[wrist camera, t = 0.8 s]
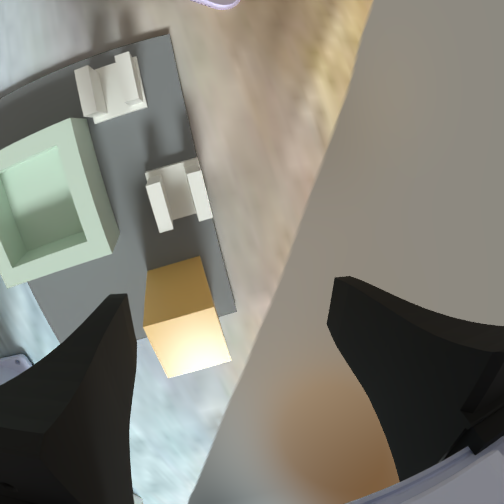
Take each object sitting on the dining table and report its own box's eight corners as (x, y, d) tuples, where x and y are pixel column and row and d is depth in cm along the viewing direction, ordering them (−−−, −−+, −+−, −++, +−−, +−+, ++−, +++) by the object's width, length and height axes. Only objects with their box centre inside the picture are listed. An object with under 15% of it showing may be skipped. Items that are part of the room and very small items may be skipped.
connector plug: (164, 315, 21) (168, 378, 15) (147, 271, 19) (142, 327, 14) (213, 301, 21) (231, 360, 16) (199, 255, 20) (213, 306, 14)
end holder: (26, 265, 17) (7, 288, 14) (-10, 162, 14) (-37, 171, 11) (120, 233, 18) (112, 253, 15) (86, 118, 15) (70, 117, 12)
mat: (70, 351, 20) (68, 356, 20) (-22, 114, 13) (-27, 114, 12) (235, 307, 22) (236, 311, 22) (169, 36, 15) (169, 33, 14)
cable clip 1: (96, 123, 15) (82, 123, 12) (86, 75, 14) (70, 66, 11) (147, 107, 16) (143, 103, 13) (137, 58, 14) (131, 44, 12)
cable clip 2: (159, 221, 18) (158, 239, 15) (145, 171, 17) (140, 181, 14) (209, 206, 19) (217, 222, 16) (197, 157, 17) (202, 163, 15)
